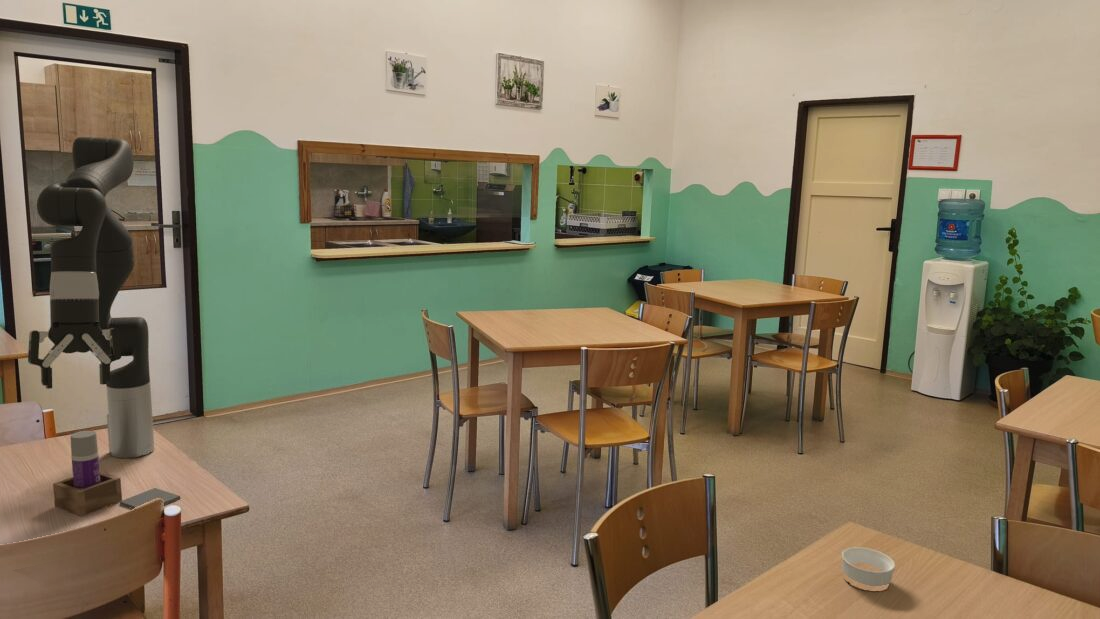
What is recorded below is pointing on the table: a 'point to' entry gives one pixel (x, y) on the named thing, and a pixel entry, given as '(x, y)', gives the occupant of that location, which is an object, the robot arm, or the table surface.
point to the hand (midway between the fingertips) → (76, 386)
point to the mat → (149, 498)
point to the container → (85, 459)
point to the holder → (87, 495)
